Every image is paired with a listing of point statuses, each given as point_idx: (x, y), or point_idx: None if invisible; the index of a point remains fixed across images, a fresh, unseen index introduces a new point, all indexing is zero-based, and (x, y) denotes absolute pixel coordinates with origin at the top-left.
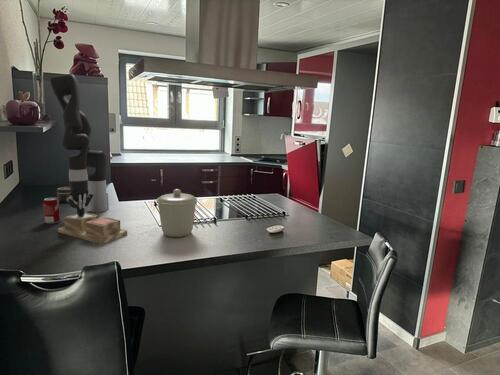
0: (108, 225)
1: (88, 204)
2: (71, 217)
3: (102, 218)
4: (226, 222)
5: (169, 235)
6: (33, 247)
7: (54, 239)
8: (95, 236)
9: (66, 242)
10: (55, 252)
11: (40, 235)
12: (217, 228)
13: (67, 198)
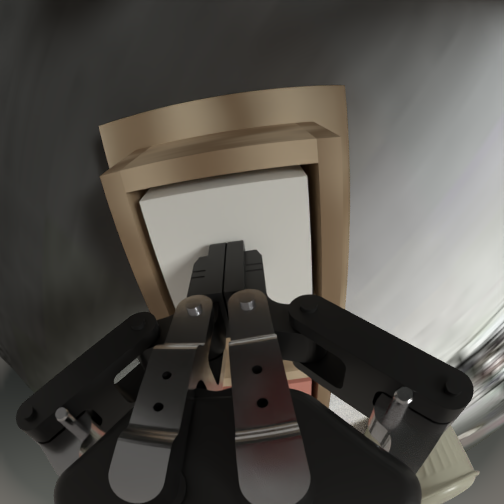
0: None
1: (330, 353)
2: (148, 231)
3: (300, 382)
4: (491, 397)
5: (364, 434)
6: (3, 260)
7: (66, 229)
8: None
9: (103, 302)
10: (63, 347)
11: (31, 113)
12: None
13: (35, 439)
